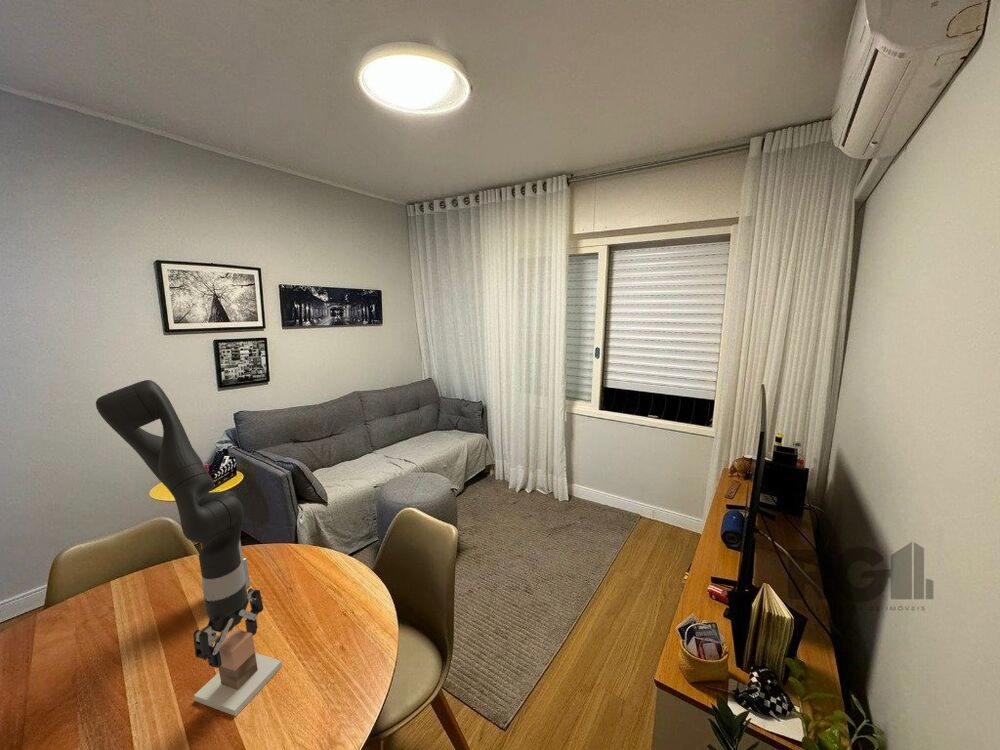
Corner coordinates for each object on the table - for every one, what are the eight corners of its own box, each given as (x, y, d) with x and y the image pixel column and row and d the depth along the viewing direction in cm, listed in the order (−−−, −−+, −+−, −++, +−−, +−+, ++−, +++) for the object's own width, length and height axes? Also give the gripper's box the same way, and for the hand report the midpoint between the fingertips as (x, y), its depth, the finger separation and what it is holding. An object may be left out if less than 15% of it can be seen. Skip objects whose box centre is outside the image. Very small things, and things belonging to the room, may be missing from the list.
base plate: (244, 654, 96) (243, 649, 96) (282, 666, 92) (281, 660, 92) (194, 700, 85) (193, 695, 84) (235, 716, 81) (234, 710, 81)
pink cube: (238, 646, 91) (236, 628, 90) (255, 651, 89) (252, 633, 88) (218, 665, 86) (214, 646, 85) (234, 671, 84) (231, 651, 84)
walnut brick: (241, 664, 91) (238, 646, 91) (257, 670, 90) (255, 651, 89) (221, 684, 87) (218, 665, 86) (237, 690, 85) (234, 671, 84)
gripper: (241, 563, 92) (250, 621, 95) (177, 606, 78) (190, 673, 81) (265, 568, 90) (274, 628, 93) (204, 614, 76) (216, 682, 79)
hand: (235, 649), depth 87 cm, fingers open, 8 cm apart
